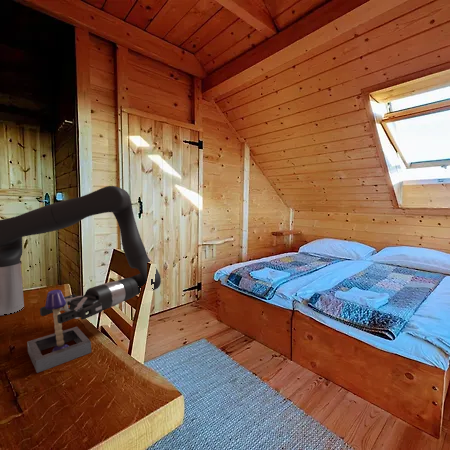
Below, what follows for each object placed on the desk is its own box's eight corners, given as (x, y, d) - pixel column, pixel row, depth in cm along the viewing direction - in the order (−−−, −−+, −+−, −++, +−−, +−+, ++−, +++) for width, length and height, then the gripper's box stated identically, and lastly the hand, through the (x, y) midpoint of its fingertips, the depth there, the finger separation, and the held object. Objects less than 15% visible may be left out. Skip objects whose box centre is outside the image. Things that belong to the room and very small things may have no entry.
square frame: (36, 373, 63) (36, 360, 62) (28, 352, 71) (27, 341, 71) (91, 352, 71) (90, 341, 71) (77, 336, 80) (77, 326, 79)
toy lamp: (48, 359, 68) (42, 295, 67) (50, 350, 72) (45, 289, 71) (69, 353, 70) (65, 292, 69) (70, 345, 75) (66, 287, 73)
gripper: (91, 280, 86) (34, 296, 72) (120, 287, 78) (63, 307, 65) (92, 303, 86) (36, 323, 72) (121, 312, 79) (65, 337, 65)
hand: (49, 315), depth 69 cm, fingers open, 8 cm apart
